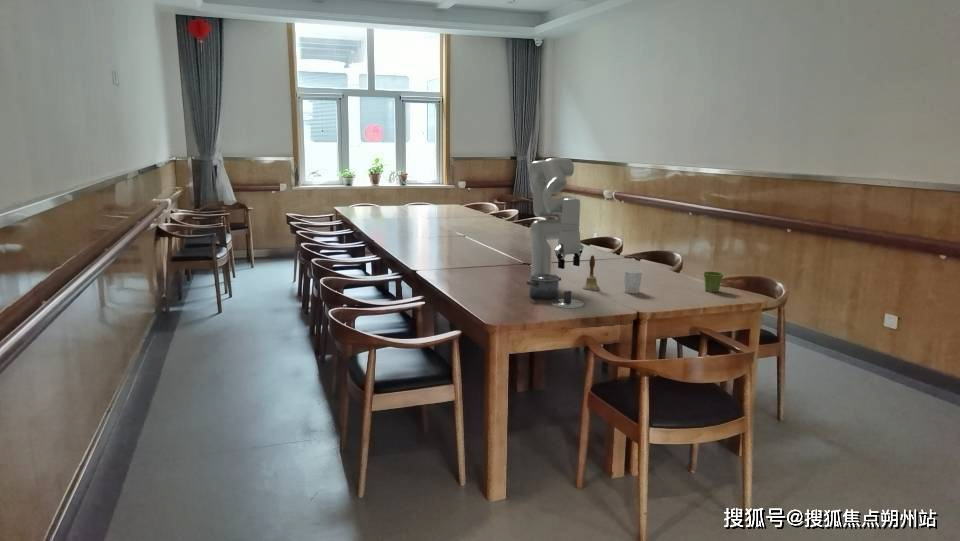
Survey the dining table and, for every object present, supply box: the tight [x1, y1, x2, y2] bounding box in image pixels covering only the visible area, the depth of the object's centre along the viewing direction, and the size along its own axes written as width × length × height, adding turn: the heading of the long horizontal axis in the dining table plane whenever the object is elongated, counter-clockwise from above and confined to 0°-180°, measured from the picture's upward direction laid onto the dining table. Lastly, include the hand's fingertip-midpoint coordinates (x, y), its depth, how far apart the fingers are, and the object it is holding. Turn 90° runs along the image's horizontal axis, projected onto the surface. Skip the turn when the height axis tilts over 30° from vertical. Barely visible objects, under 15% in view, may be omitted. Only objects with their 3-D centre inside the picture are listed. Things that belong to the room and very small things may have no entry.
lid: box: [550, 290, 585, 309], centre depth 279 cm, size 14×14×6 cm
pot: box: [526, 274, 562, 301], centre depth 292 cm, size 18×13×9 cm
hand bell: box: [582, 255, 601, 291], centre depth 308 cm, size 8×8×16 cm
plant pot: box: [702, 271, 725, 293], centre depth 306 cm, size 9×9×9 cm
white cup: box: [623, 269, 642, 294], centre depth 302 cm, size 8×8×10 cm
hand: (568, 267), depth 276 cm, fingers open, 9 cm apart
